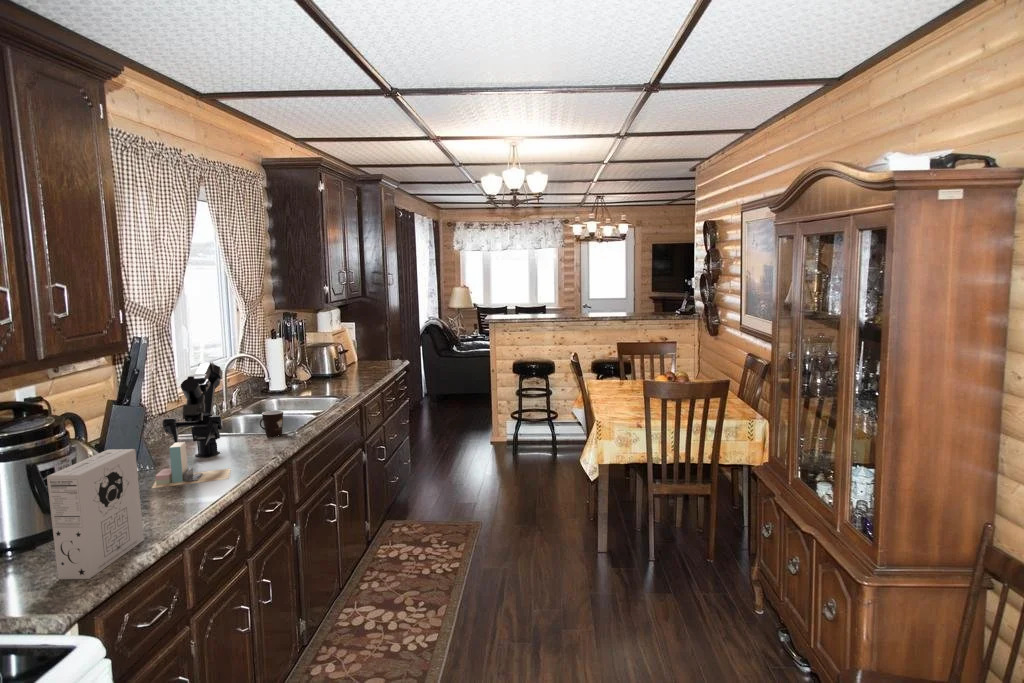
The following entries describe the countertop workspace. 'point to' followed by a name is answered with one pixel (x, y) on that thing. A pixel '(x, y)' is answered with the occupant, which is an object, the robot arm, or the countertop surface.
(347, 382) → the countertop surface
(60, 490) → the cereal box
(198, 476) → the metal bookend
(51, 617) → the countertop surface
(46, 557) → the countertop surface
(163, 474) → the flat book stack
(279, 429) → the coffee mug
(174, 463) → the boxed book
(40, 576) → the countertop surface
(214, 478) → the shelf plank
